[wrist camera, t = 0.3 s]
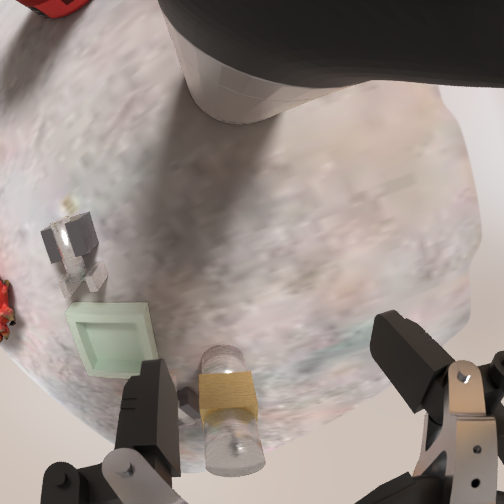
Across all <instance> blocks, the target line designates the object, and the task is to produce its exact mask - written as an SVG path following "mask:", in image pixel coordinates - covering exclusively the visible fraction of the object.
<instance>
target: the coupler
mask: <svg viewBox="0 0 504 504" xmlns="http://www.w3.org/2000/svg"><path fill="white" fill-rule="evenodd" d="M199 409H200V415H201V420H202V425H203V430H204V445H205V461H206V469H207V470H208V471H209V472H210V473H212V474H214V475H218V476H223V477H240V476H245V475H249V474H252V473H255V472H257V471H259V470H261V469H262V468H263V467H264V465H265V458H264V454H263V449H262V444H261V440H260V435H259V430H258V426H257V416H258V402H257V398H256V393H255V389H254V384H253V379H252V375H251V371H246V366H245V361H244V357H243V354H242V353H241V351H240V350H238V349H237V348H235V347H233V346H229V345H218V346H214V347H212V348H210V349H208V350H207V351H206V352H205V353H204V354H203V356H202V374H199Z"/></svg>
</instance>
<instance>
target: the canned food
mask: <svg viewBox="0 0 504 504" xmlns="http://www.w3.org/2000/svg"><path fill="white" fill-rule="evenodd" d="M16 1H18V2H20V3H21V4H23V5H24V6H26V7H28V8H29V9H31V10H32V11H34V12H36V13H37V14H39V15H40V16H42V17H45V18H61V17H64V16H67V15H69V14H71V13H73V12H75V11H77V10H78V9H80V8H81V7H83V6H84V5H85V4H86V3H88V2H89V1H90V0H16Z"/></svg>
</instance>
